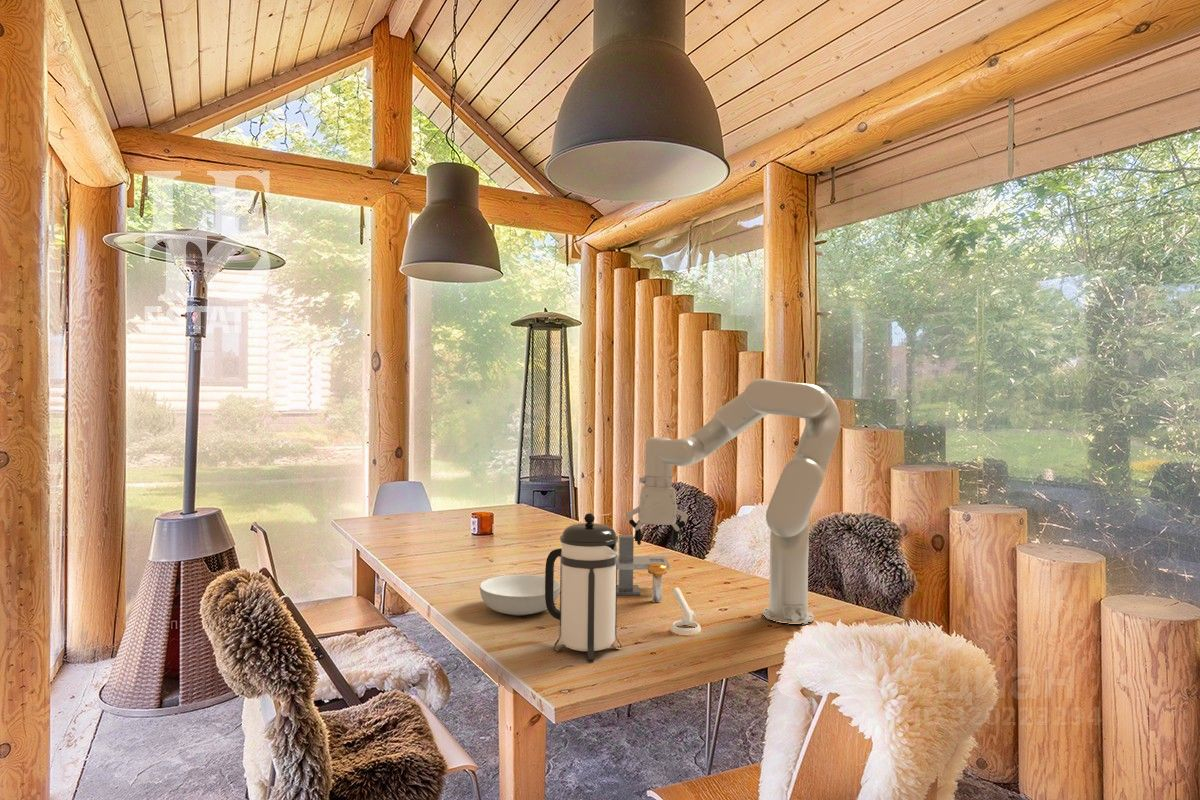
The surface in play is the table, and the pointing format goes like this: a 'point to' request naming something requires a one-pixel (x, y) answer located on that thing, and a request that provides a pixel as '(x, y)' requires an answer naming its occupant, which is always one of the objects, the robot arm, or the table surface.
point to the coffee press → (585, 587)
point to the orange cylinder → (657, 579)
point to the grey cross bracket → (632, 565)
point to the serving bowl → (516, 594)
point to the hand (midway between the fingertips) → (656, 544)
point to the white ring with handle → (684, 616)
